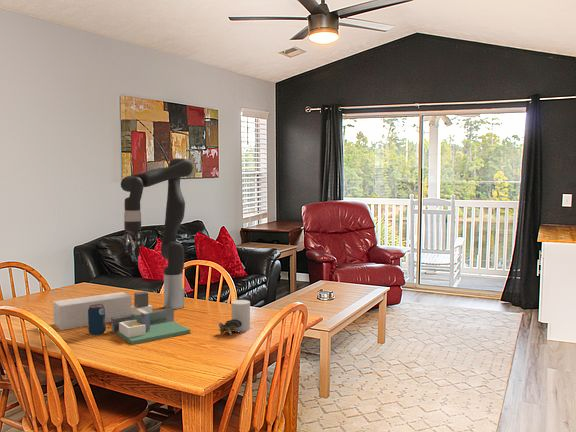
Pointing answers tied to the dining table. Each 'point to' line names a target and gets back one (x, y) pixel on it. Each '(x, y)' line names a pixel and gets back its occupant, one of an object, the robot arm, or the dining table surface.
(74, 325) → the white ribbed long block
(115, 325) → the rail
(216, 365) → the dining table surface
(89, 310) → the soda can
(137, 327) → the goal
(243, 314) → the cup
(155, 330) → the pitch
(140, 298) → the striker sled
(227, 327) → the toy animal figurine
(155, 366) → the dining table surface
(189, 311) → the dining table surface
